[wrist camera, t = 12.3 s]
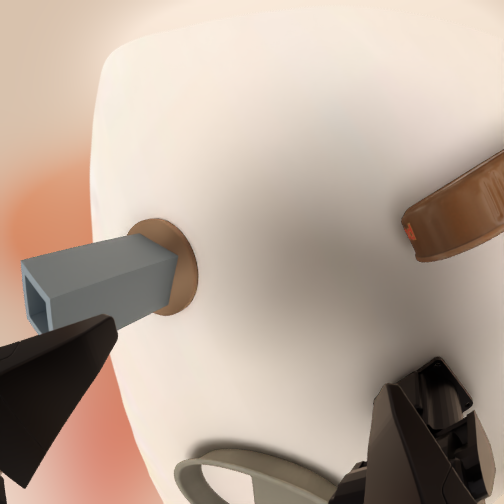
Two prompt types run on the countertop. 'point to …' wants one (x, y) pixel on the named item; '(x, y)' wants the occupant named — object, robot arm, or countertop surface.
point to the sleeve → (98, 282)
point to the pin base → (186, 262)
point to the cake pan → (254, 479)
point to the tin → (459, 213)
